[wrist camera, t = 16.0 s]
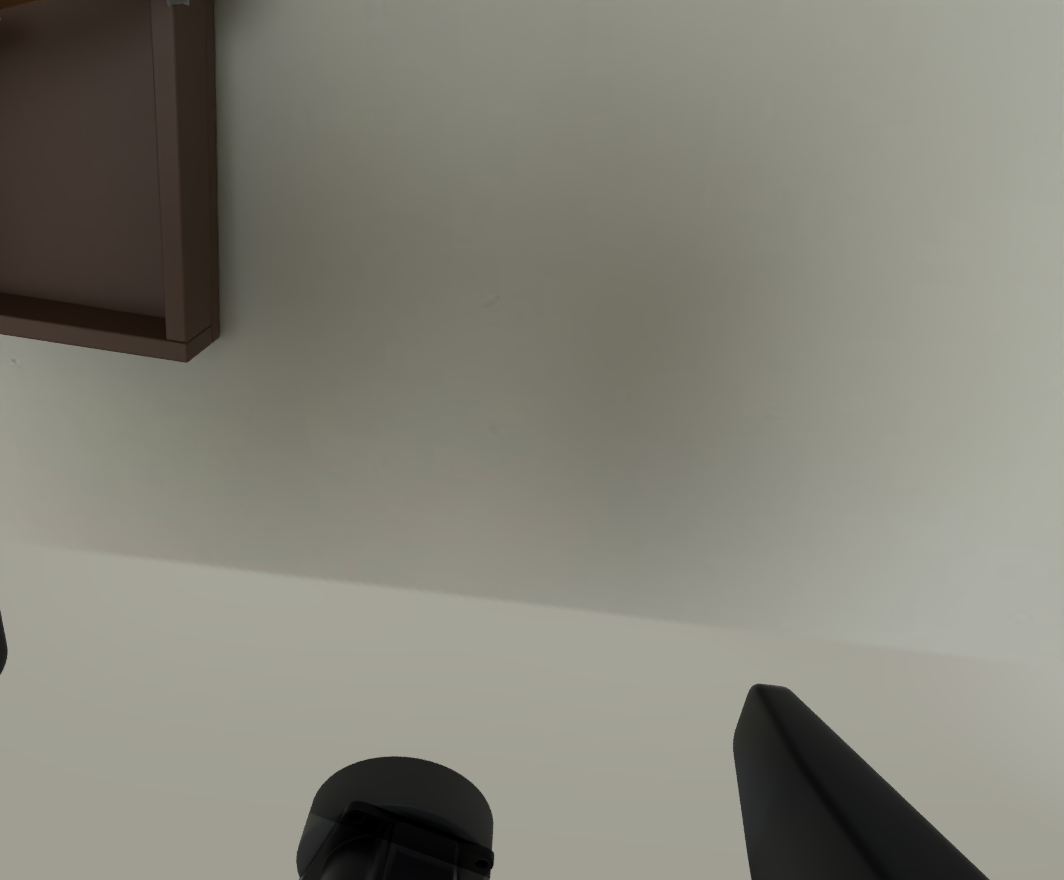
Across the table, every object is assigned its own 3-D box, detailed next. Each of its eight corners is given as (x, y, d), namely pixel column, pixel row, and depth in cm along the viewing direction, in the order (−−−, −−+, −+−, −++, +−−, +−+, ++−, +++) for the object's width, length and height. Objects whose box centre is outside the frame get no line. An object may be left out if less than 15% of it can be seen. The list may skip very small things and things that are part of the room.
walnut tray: (220, 337, 19) (187, 364, 18) (-18, 300, 19) (-76, 323, 17) (208, -361, 14) (158, -429, 12) (-133, -434, 13) (-238, -514, 12)
